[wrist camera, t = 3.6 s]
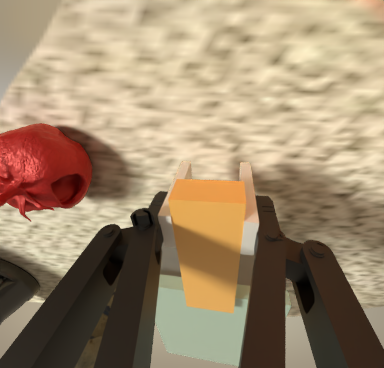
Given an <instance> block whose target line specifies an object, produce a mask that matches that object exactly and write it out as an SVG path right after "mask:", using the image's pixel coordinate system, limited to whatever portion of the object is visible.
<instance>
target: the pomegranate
mask: <svg viewBox="0 0 384 368" xmlns="http://www.w3.org/2000/svg"><path fill="white" fill-rule="evenodd" d="M91 178H92V165H91V162H90V159H89V156H88V155H87V153H86V151H85V150H84V148H83V147H82V146H81V145H80V144H79V143H77V142H75V141H73V140H71V139H69V138H67V137H66V136H65V135H64V134H63V133H62V132H61V131H60V130H59V129H57V128H55V127H53V126H51V125H47V124H42V123H40V124H33V125H29V126H26V127H22V128H19V129H16V130H11V131H7V132H5V133H2V134H0V206H3V205H4V204H5V203H8V204H9V205H11V206H13V207H15V208H18V209H19V212H20V214H21V215H23V216H24V217H25V218H27V219H28V220H29V221H31V220H30V219H29V218H28V217H27V216H26V215H25V211H26V212H29V211H32V210H43V209H50V210H54V209H53V208H51V207H57V208H58V207H61V208H65V209H66V208H67V209H68V208H72V207H73V206H75V205H76V204H78V203H79V202H80V201H81V200H82V199H83V198H84V196H85V194H86V192H87V191H88V187H89V185H90V182H91Z"/></svg>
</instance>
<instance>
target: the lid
mask: <svg viewBox="0 0 384 368" xmlns="http://www.w3.org/2000/svg"><path fill="white" fill-rule="evenodd" d="M168 202H169V208H170V214H171V219H172V225H173V230H174V236H175V242H176V248H177V253H178V259H179V265H180V271H181V276H182V277H177V276H169V275H161V274H160V279H159V288H158V297H157V307H156V316H155V323H156V326H157V328H158V331H159V333H160V335H161V338H162V340H163V343H164V345H165V347H166V350H167V352H168V353H173V354H178V355H183V356H188V357H193V358H199V359H203V360H208V361H214V362H218V363H223V364H228V365H233V366H238V367H239V360H240V353H241V347H242V340H243V333H244V326H245V319H246V313H247V306H248V299H249V292H250V286H247V285H239V284H237V279H238V270H239V262H240V252H241V244H242V235H243V226H244V219H245V210H246V196H245V184H244V181H220V180H193V179H177V180H176V182H175V184H174V187H173V189H172V191H171V194H170V196H169V198H168ZM290 308H291V302H290V297H289V293H288V291H286V290H285V319H286V316H287V314H288V312H289V310H290Z"/></svg>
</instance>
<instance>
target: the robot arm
mask: <svg viewBox="0 0 384 368" xmlns="http://www.w3.org/2000/svg"><path fill="white" fill-rule="evenodd" d="M177 179H192V172H191V161H182V162H181V164H180V166H179V169H178V171H177V173H176V175H175V178H174V180H173V182H172V185H171V187H170V189H169V191H168V192H162V191H160V192H159V193H157V194H156V195H155V197H154V199H153V201H152V202H151V205H150V206H149V208H142V209H138V210H136V211H134V212H133V213H132V214H131V216H130V217H131V220H132V223H133V227H130V228H124V229H120V227H119V226H118V225H116V224H110V225H107V226H105V227H103V228H102V229H101V230H100V231H99V232H98V233H97V234H96V236H95V237H94V238H93V239H92V241H91V242H90V243H89V245H88V246H87V247H86V249H85V250H84V251H83V252H82V254H81V255H80V256H79V258H78V259H77V260H76V262H75V263H74V264H73V265H72V267H71V268H70V269H69V271H68V272H67V273H66V275H65V276H64V277H63V278H62V280H61V281H60V282H59V284H58V285H57V286H56V288H55V289H54V290H53V291H52V293H51V294H50V295H49V297H48V298H47V299H46V300H45V302H44V303H43V304H42V306H41V307H40V308H39V310H38V311H37V312H36V313H35V315H34V316H33V317H32V319H31V320H30V321H29V323H28V324H27V325H26V327H25V328H24V329H23V330H22V332H21V333H20V334H19V336H18V337H17V338H16V339H15V341H14V342H13V344H12V345H11V346H10V347H9V349H8V350H7V351H6V353H5V354H4V355H3V356H2V358H1V359H0V368H75V366H76V364H77V362H78V360H79V358H80V356H81V354H82V352H83V351H84V349H85V347H86V345H87V343H88V341H89V339H90V337H91V335H92V333H93V331H94V329H95V327H96V325H97V324H98V322H99V320H100V318H101V316H102V314H103V312H104V310H105V308H106V306H107V304H108V302H109V300H110V299H111V297H112V295H113V293H114V291H115V294H114V297H113V301H112V304H111V308H110V312H109V315H108V319H107V322H106V326H105V329H104V333H103V336H102V340H101V343H100V347H99V350H98V354H97V357H96V361H95V364H94V368H150V363H151V354H152V344H153V335H154V326H155V316H156V307H157V297H158V288H159V279H160V269H161V260H162V248H161V247H162V244H163V241H164V246H165V247H174V248H176V242H175V236H174V230H173V225H172V219H171V214H170V208H169V202H168V198H169V196H170V194H171V191H172V189H173V187H174V184H175V182H176V180H177ZM239 181H244V184H245V196H246V210H245V219H244V226H243V235H242V244H241V252H240V254H244V255H254V253H255V259H254V265H253V272H252V279H251V286H250V292H249V299H248V306H247V313H246V319H245V326H244V333H243V340H242V347H241V353H240V360H239V367H238V368H285V287H286V278H288V279H290V280H292V284H293V287H294V291H295V294H296V298H297V301H298V305H299V308H300V312H301V315H302V318H303V322H304V325H305V329H306V332H307V336H308V339H309V342H310V346H311V350H312V353H313V356H314V360H315V363H316V367H317V368H384V349H383V347H382V345H381V343H380V341H379V339H378V337H377V335H376V334H375V332H374V330H373V328H372V326H371V324H370V322H369V320H368V318H367V317H366V315H365V313H364V311H363V309H362V307H361V305H360V303H359V301H358V300H357V298H356V296H355V294H354V292H353V290H352V288H351V286H350V284H349V283H348V281H347V279H346V277H345V275H344V273H343V271H342V269H341V267H340V265H339V264H338V262H337V260H336V258H335V256H334V254H333V252H332V251H331V250H330V248H329V247H328V246H326V245H325V244H323V243H321V242H319V241H314V240H309V241H306V242H304V244H301V243H298V242H295V241H292V240H290V239H288V238H287V237H285V235H284V234H283V233H282V232H281V231H280V228H279V224H278V220H277V216H276V213H275V209H274V205H273V201H272V200H271V199H270V198H269V197H268V196H255V191H254V185H253V178H252V171H251V164H250V163H244V162H240V173H239ZM39 288H40V287H39V284H38V283H37V281H36V280H35V279H34V278H33V277H32V276H31V275H29V274H28V273H27V272H25V271H23V270H22V269H20V268H18V267H17V266H15V265H13V264H10V263H8V262H6V261H3V260H0V325H1V323H2V322H3V321H4V320H5V319H6V318H7V317H9V316H10V315H11V314H12V313H14V312H15V311H16V310H17V309H18V308H20V307H21V306H22V305H23V304H24V303H25V302H26V301H29V300H30V299H31V298H32V297H33V296H34V295H35V294H36V293H37V291H38V290H39ZM115 289H116V290H115Z"/></svg>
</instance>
